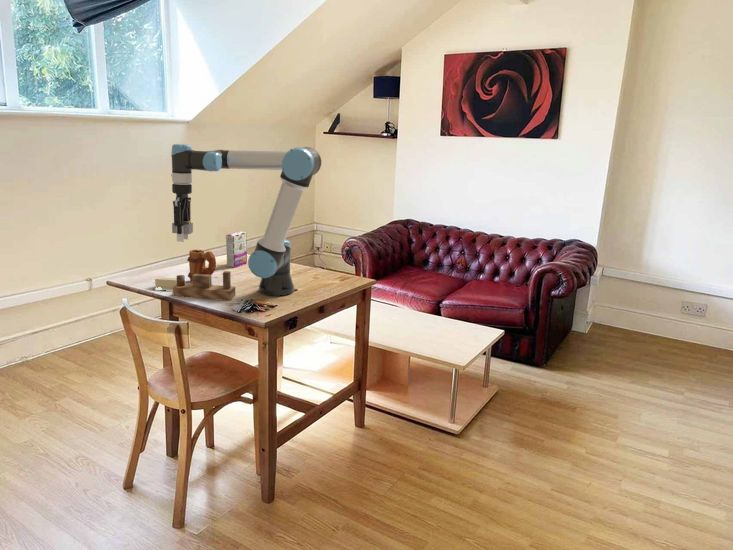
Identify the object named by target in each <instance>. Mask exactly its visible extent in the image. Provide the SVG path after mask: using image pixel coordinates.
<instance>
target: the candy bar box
mask: <svg viewBox="0 0 733 550" xmlns="http://www.w3.org/2000/svg"><path fill="white" fill-rule="evenodd" d="M225 242H226V243H225V244H226V245H225V247H226V249H225V250H226V267H227V268H234V269H235V268H238V267H241V266H244V265H246V264H248V256H247V255H248V251H247V247H248V245H247V242H248V241H247V231H246V232H245V231H236V232H232V233H229V234H226V235H225ZM243 264H244V265H243ZM240 265H241V266H240Z"/></svg>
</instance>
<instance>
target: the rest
mask: <svg viewBox="0 0 733 550" xmlns="http://www.w3.org/2000/svg"><path fill="white" fill-rule="evenodd" d="M154 281H155V285H154V286H155V287H157V288H158V287H161V288H162V290H166V291H165V292H171V291H173V287H174V286H175V285H177V277H175V278H173V277H160V276H158V277H156V278H155V279H154Z"/></svg>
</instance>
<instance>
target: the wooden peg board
mask: <svg viewBox="0 0 733 550" xmlns="http://www.w3.org/2000/svg"><path fill="white" fill-rule="evenodd" d="M176 278H177V285H175V286H174V287H173V292H172V297H173V296H177V297H176V298H186V297H187V299H191V298H192V299H201V300H202V299H205V300H217V301H228V302H229V301H230V302H231V301H232V300H233V299H234V298H235V297H236V295H237V294H236V286H232V285H231V271H228V270H226V271H225V270H224V271H223V272H222V285H219V284H217V285H216V284H212V283H213V282H212V275H207V274H194V275H192V282H191V283H190V282H189V283H187V282H186V279H185V278H186V277H185V275H183V274H177V275H176Z"/></svg>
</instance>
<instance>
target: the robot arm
mask: <svg viewBox="0 0 733 550" xmlns="http://www.w3.org/2000/svg"><path fill="white" fill-rule="evenodd" d="M170 156H171V175H170V177H171V180H172V181H171V182H172V185H171V189H172V190H171V191H172V194H176V196H175V200H172V205H173V223H174V226H177V233H176V242H181V243H184V242H185V240H189V237H190V234H184V226H183V221H190V223H192V220H191V218H192V217H191V202H192V198H191V197H189V195H191V194H192V193H193V187H192V182H193V179H192V178H193V177H192V176H193V175H192V170H193V171H194V170H197V171H205V172H219V171H220V169H223V170H224V169H225V170H229V169H232V170H236V169H237V170H262V171H263V170H265V171H266V170H267V171H269V170H271V171H272V170H273V171H281V173H280V176H279V178H280V180H281V185H280V188H279V192H278V193H277V197H276V199H275V201H274V202H275V203H274V204H273V205H274V206H273V207H272V211H271V214H270V216H269V220H268V223H267V226H266V229H265V230H264V231H265V232H264V234H263V237H261V238H258V240H257V243H256V246H255V249H254V251H253V252H252V253H251V254H250V255H249V257H248V258H247V265H248V268H249V270H250V272H251V273H252V274H253V275H254V276H256V277H258V278H260V282H259V285H258V292H259V293H260V294H261V295H265V296H271V297H280V295H283V296H288V295H287V294H289V295H292V294H293V293H294V292H295V285H294V282H293V279H292V278H293V277H291V249H292V246H291V242H290V241H289V240H287V236H288V235H289V234H288V232H289V231H290V228H291V225H292V223H293V220H294V217H295V214H296V211H297V209H298V206H299V203H300V200H301V198H302V194H303V191H304V190H306V189H308V188H309V187H310V184H311V182H312V179H313V176H314V175H316V174H317V173H319V171H320V170H321V167H322V158H321V155H320V153H319V152H318V151H317V150H316V149H315V148H313V147H309V146H304V147H293V148H290V149H289V150H287V151H286V150H285V151H283V150H279V151H278V150H277V151H276V150H235V149H233V150H229V149H228V150H227V149H216V150H206V151H205V150H194V149H192V146H191V144H186V143H174V144H172V146H171V154H170Z"/></svg>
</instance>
